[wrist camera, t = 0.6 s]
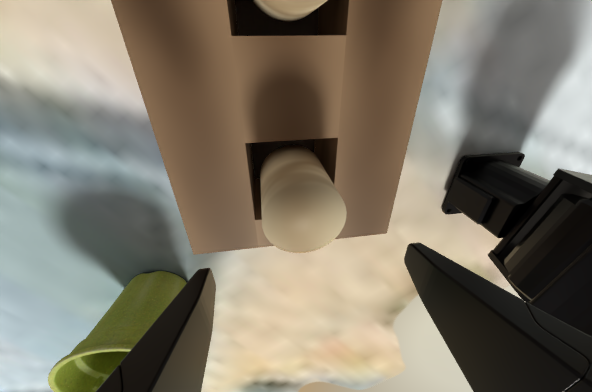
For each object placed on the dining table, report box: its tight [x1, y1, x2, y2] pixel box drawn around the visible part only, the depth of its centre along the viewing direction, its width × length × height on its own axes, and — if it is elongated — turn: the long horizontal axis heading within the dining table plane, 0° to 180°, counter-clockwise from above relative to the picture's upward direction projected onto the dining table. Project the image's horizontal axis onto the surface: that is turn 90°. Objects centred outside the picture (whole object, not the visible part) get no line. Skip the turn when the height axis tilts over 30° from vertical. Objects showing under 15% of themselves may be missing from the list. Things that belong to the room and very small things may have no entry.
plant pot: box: [48, 271, 187, 392], centre depth 22 cm, size 9×9×9 cm
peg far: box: [260, 145, 347, 253], centre depth 13 cm, size 4×4×5 cm
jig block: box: [111, 0, 442, 254], centre depth 14 cm, size 14×20×6 cm
